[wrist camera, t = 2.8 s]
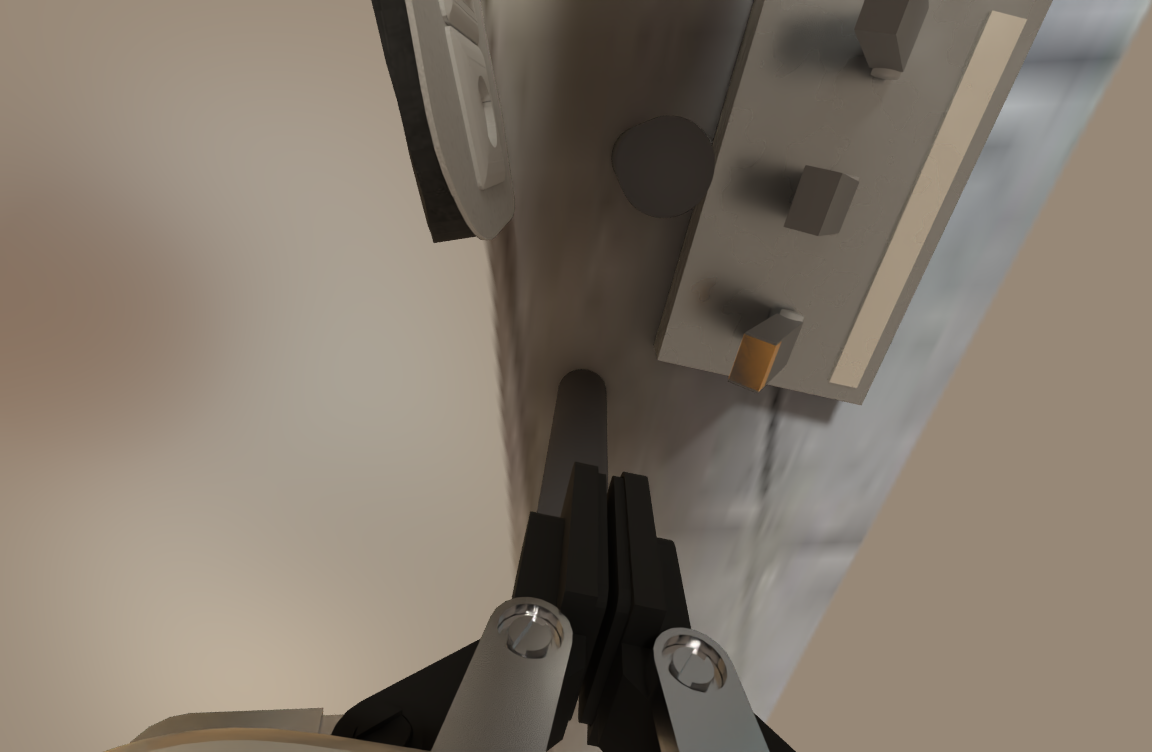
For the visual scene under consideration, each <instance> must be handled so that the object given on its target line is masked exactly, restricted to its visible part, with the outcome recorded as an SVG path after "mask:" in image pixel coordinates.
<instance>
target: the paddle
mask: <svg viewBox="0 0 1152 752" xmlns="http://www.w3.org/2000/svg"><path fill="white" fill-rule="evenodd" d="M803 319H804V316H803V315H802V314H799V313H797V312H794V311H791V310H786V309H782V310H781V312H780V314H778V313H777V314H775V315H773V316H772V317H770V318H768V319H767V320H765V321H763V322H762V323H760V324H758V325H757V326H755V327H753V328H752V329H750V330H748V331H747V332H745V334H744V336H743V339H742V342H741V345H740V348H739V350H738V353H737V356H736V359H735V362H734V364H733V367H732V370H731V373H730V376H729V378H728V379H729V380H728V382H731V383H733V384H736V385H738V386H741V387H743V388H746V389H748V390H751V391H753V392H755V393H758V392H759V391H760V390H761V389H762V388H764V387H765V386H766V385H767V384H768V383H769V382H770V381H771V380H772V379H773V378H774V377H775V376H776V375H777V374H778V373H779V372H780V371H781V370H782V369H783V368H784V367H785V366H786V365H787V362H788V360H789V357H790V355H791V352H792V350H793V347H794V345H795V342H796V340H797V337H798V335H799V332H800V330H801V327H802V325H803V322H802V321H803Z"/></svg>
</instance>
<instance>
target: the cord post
mask: <svg viewBox="0 0 1152 752" xmlns="http://www.w3.org/2000/svg"><path fill="white" fill-rule="evenodd" d="M575 461H576V462H581V463H585V464H590V465H595V466H598V469H599V473H602V474H606V479H607V492H608V457H607V402H606V386H605V383H604V381H603V380H602V378H601V377H600V376H599V375H597V374H596V373H594V372H592V371H589V370H582V369H581V370H575V371H572V372H570V373H568V374H567V375H566V376H565V377H564V378H563V379H562V380H561V382H560V385H559V389H558V395H557V401H556V406H555V412H554V418H553V424H552V429H551V435H550V441H549V447H548V452H547V458H546V464H545V470H544V475H543V481H542V487H541V492H540V498H539V504H538V510H537V513H541V514H546V515H550V516H555V517H560V515H561V512H562V508H563V504H564V500H565V496H566V492H567V488H568V484H569V480H570V476H571V472H572V468H573V465H574V462H575Z"/></svg>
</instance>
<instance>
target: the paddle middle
mask: <svg viewBox="0 0 1152 752" xmlns="http://www.w3.org/2000/svg"><path fill="white" fill-rule="evenodd" d="M859 178H860V177H857V176H853V175H849V174H845V173H840V172H836V171H831V170H827V169H822V168H818V167H813V166H808V165H805V168H804V171H803V173H802V176H801V179H800V182H799V184H798V187H797V190H796V193H795V196H794V198H793V201H792V204H791V207H790V210H789V212H788V215H787V218H786V221H785V223H784V226H783V227H786V228H790V229H793V230H797V231H801V232H804V233H808V234H812V235H815V236H823V235H830V236H835V237H836V236H837V234H838V233H839V232H840V230H841V227H842V225H843V222H844V220H845V217H846V215H847V212H848V210H849V207H850V205H851V202H852V200H853V197H854V195H855V192H856V190H857V187H858V185H859Z"/></svg>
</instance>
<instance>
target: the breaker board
mask: <svg viewBox="0 0 1152 752" xmlns="http://www.w3.org/2000/svg"><path fill="white" fill-rule="evenodd" d="M1052 1H1053V0H929V9H928V12H927V14H926V17H925V19H924V22H923V24H922V27H921V29H920V32H919V34H918V37H917V39H916V42H915V44H914V47H913V49H912V52H911V54H910V57H909V59H908V62H907V64H906V67H905V69H904V72H902V73H901V75H900V78H899V79H898V80H888V79H881V78H877V77H874V76H872V75H871V72H872V69H873V68H869V65H868V63H867V60H866V58H865V55H864V53H863V51H862V48H861V46H860V43H859V41H858V38H857V36H856V33H855V31H854V28H855V26H856V23H857V20H858V17H859V14H860V12H861V9H862V6H863V3H864V0H754V3H753V6H752V10H751V13H750V17H749V20H748V23H747V27H746V30H745V34H744V37H743V41H742V44H741V47H740V51H739V54H738V58H737V61H736V65H735V68H734V71H733V75H732V78H731V82H730V85H729V89H728V92H727V95H726V99H725V102H724V106H723V109H722V113H721V116H720V119H719V123H718V126H717V130H716V133H715V136H714V140H713V143H712V148H713V152H714V158H715V169H714V175H713V180H712V182H711V185H710V187H709V189H708V191H707V193H706V194H705V196H704V197H703V198H702V200H701V201H700V202H699V203H698V204H697V205H696V206H695V207H694V208H693V212H692V215H691V219H690V222H689V226H688V229H687V232H686V236H685V239H684V243H683V246H682V250H681V253H680V256H679V260H678V263H677V267H676V270H675V273H674V277H673V280H672V284H671V287H670V291H669V294H668V297H667V301H666V304H665V308H664V311H663V315H662V318H661V321H660V325H659V328H658V332H657V335H656V339H655V342H654V349H655V353H656V357H657V360H659V361H663V362H668V363H672V364H677V365H681V366H686V367H690V368H695V369H699V370H704V371H709V372H713V373H718V374H722V375H727V376H730V373H731V370H732V367H733V364H734V362H735V359H736V356H737V353H738V350H739V348H740V345H741V342H742V339H743V336H744V334H745V332H747V331H748V330H750V329H752V328H753V327H755V326H757V325H758V324H760V323H762V322H763V321H765V320H767V319H768V318H770V317H772V316H773V315H775V314H777V313H778V314H780V312H781V310H782V309H786V310H791V311H794V312H797V313H799V314H802V315H803V316H804V319H803V321H802V322H803V325H802V327H801V330H800V332H799V335H798V337H797V340H796V342H795V345H794V347H793V350H792V352H791V355H790V357H789V360H788V362H787V365H786V366H785V367H784V368H783V369H782V370H781V371H780V372H779V373H778V374H777V375H776V376H775V377H774V378H773V379H772V380H771V381H770V382H769V383H768V384H767V385H772V386H776V387H781V388H785V389H790V390H794V391H799V392H803V393H808V394H812V395H817V396H822V397H826V398H831V399H835V400H840V401H844V402H849V403H853V404H858V405H862V403H863V401H864V399H865V397H866V395H867V392H868V390H869V388H870V386H871V384H872V382H873V380H874V378H875V376H876V373H877V371H878V369H879V367H880V365H881V363H882V361H883V359H884V356H885V354H886V352H887V350H888V348H889V346H890V344H891V342H892V340H893V337H894V335H895V333H896V331H897V329H898V327H899V325H900V323H901V321H902V318H903V316H904V314H905V312H906V310H907V308H908V306H909V304H910V301H911V299H912V297H913V295H914V293H915V291H916V289H917V287H918V285H919V282H920V280H921V278H922V276H923V274H924V272H925V270H926V268H927V265H928V263H929V261H930V259H931V257H932V255H933V253H934V251H935V249H936V246H937V244H938V242H939V240H940V238H941V236H942V234H943V232H944V229H945V227H946V225H947V223H948V221H949V219H950V217H951V215H952V213H953V210H954V208H955V206H956V204H957V202H958V200H959V198H960V196H961V193H962V191H963V189H964V187H965V185H966V183H967V181H968V179H969V177H970V174H971V172H972V170H973V168H974V166H975V164H976V162H977V160H978V157H979V155H980V153H981V151H982V149H983V147H984V145H985V143H986V141H987V138H988V136H989V134H990V132H991V130H992V128H993V126H994V124H995V122H996V119H997V117H998V115H999V113H1000V111H1001V109H1002V107H1003V105H1004V102H1005V100H1006V98H1007V96H1008V94H1009V92H1010V90H1011V88H1012V86H1013V83H1014V81H1015V79H1016V77H1017V75H1018V73H1019V71H1020V69H1021V66H1022V64H1023V62H1024V60H1025V58H1026V56H1027V54H1028V52H1029V50H1030V47H1031V45H1032V43H1033V41H1034V39H1035V37H1036V35H1037V33H1038V30H1039V28H1040V26H1041V24H1042V22H1043V20H1044V18H1045V16H1046V14H1047V11H1048V9H1049V7H1050V5H1051V3H1052ZM805 165H808V166H813V167H818V168H822V169H827V170H831V171H836V172H840V173H845V174H849V175H853V176H857V177H860V178H859V185H858V187H857V190H856V192H855V195H854V197H853V200H852V202H851V205H850V207H849V210H848V212H847V215H846V217H845V220H844V222H843V225H842V227H841V230H840V232H839V233H838V234H837V236H836V237H835V236H830V235H823V236H815V235H812V234H808V233H804V232H801V231H797V230H793V229H790V228H786V227H783V226H784V223H785V221H786V218H787V215H788V212H789V210H790V207H791V204H792V201H793V198H794V196H795V193H796V190H797V187H798V184H799V182H800V179H801V176H802V173H803V171H804V168H805Z"/></svg>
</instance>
